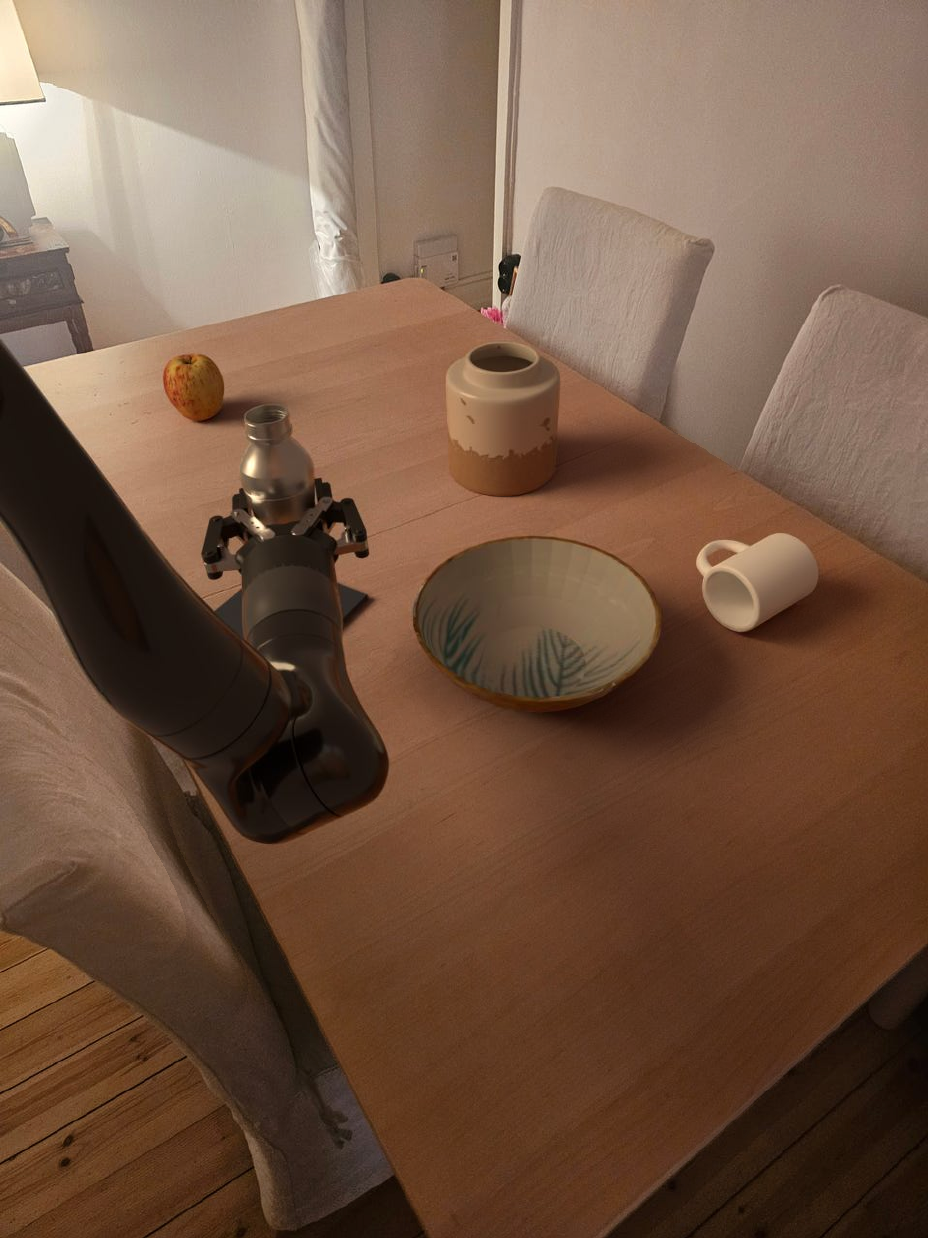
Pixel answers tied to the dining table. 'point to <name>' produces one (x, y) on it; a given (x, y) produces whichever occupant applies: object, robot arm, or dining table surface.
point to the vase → (502, 419)
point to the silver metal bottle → (275, 467)
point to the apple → (194, 386)
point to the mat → (233, 606)
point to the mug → (756, 579)
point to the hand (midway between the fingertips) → (282, 491)
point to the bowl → (536, 622)
